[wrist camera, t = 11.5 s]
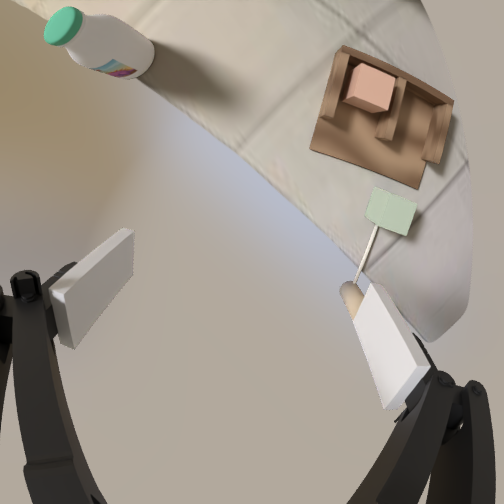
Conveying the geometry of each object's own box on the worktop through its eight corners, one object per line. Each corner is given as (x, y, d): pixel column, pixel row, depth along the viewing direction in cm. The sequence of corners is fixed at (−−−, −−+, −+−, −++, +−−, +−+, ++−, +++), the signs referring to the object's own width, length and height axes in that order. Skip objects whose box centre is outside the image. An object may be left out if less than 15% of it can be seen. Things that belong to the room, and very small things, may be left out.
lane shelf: (335, 53, 33) (343, 44, 29) (438, 102, 34) (454, 100, 30) (309, 148, 39) (314, 150, 35) (415, 188, 41) (429, 194, 36)
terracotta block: (348, 72, 34) (361, 63, 28) (379, 84, 34) (395, 78, 29) (341, 101, 36) (353, 95, 30) (371, 113, 36) (387, 110, 31)
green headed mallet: (372, 185, 42) (404, 198, 31) (398, 195, 42) (432, 210, 32) (332, 295, 48) (348, 331, 38) (357, 300, 49) (377, 336, 38)
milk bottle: (132, 30, 32) (62, -12, 14) (165, 49, 34) (101, 2, 15) (105, 68, 35) (23, 46, 16) (135, 88, 36) (55, 67, 18)
